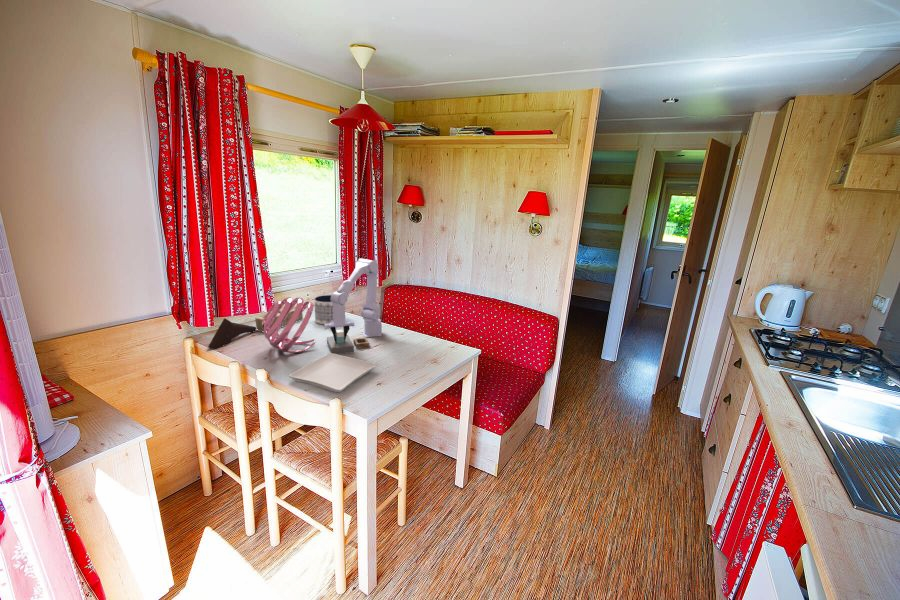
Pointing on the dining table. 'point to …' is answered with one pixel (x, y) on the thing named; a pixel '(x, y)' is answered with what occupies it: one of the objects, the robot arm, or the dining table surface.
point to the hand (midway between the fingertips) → (339, 340)
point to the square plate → (333, 372)
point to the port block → (340, 346)
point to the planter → (323, 309)
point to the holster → (228, 333)
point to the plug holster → (361, 343)
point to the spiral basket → (275, 328)
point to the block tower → (260, 319)
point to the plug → (339, 336)
